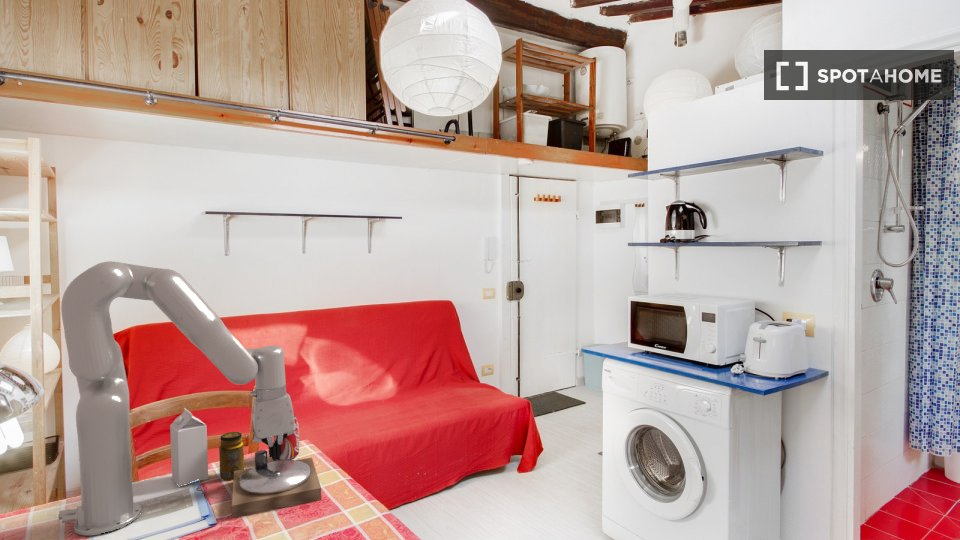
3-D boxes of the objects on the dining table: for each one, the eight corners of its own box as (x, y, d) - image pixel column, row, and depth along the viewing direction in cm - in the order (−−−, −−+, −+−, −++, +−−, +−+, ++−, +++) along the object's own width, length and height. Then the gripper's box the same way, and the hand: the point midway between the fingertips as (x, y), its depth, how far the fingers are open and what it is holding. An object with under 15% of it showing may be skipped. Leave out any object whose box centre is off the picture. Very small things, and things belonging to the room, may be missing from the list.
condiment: (248, 470, 144) (247, 429, 143) (241, 484, 136) (240, 440, 135) (220, 473, 142) (219, 431, 142) (212, 487, 134) (210, 443, 133)
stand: (232, 518, 118) (231, 502, 118) (234, 481, 136) (233, 468, 136) (321, 499, 126) (321, 484, 126) (312, 467, 144) (311, 454, 144)
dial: (323, 475, 132) (323, 456, 132) (262, 502, 119) (261, 480, 119) (287, 459, 143) (286, 441, 142) (226, 481, 129) (226, 462, 129)
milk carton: (200, 471, 143) (198, 404, 142) (208, 479, 138) (206, 410, 137) (171, 479, 138) (169, 410, 137) (179, 488, 133) (176, 417, 132)
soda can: (294, 462, 148) (293, 421, 147) (270, 462, 148) (269, 422, 148) (303, 452, 155) (302, 413, 155) (280, 452, 155) (279, 413, 155)
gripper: (243, 401, 129) (248, 471, 130) (303, 390, 137) (307, 455, 138) (238, 394, 135) (243, 461, 136) (296, 383, 143) (300, 446, 145)
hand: (275, 458), depth 137 cm, fingers closed
